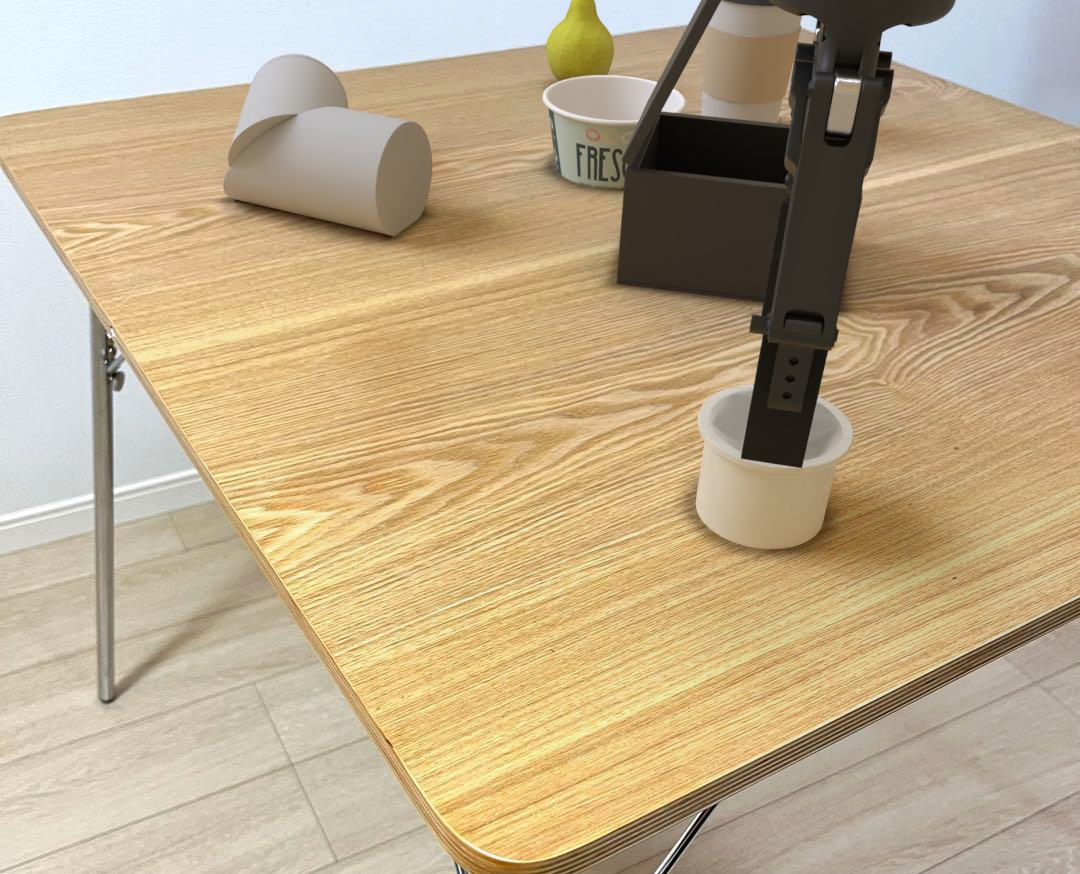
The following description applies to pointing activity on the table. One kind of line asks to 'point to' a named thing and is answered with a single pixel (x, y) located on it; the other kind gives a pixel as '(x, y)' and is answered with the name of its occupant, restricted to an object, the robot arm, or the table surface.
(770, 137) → the open brown storage bin
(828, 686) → the table surface
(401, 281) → the table surface
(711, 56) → the coffee cup
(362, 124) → the elbow connector
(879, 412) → the table surface
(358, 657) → the table surface
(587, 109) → the food container
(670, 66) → the lid
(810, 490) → the white short cylinder
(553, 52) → the fruit
